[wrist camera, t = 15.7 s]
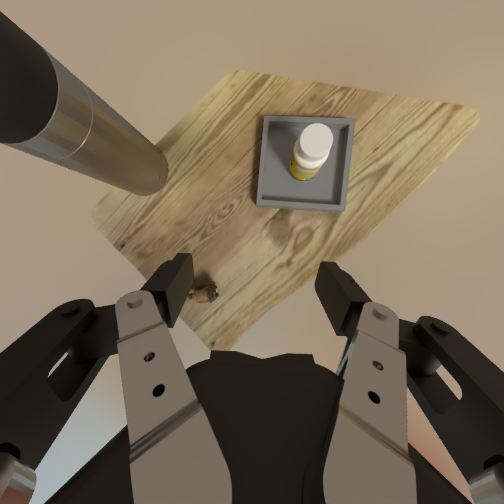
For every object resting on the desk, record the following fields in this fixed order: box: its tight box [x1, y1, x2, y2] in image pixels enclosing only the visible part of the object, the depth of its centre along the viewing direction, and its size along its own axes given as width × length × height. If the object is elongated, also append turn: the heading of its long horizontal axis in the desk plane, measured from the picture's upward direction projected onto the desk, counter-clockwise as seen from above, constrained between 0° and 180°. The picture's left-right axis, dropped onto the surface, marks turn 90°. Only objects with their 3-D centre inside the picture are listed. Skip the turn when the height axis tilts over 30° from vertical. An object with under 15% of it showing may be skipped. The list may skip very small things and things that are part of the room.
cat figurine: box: [186, 285, 219, 303], centre depth 32 cm, size 3×8×4 cm, turn 101°
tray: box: [256, 115, 355, 213], centre depth 30 cm, size 14×14×2 cm
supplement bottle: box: [289, 123, 333, 182], centre depth 26 cm, size 5×5×8 cm
